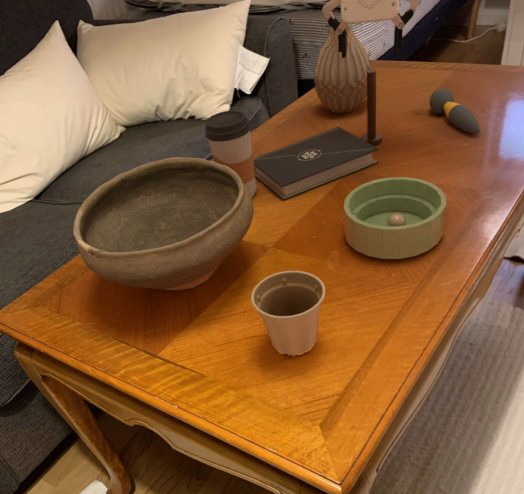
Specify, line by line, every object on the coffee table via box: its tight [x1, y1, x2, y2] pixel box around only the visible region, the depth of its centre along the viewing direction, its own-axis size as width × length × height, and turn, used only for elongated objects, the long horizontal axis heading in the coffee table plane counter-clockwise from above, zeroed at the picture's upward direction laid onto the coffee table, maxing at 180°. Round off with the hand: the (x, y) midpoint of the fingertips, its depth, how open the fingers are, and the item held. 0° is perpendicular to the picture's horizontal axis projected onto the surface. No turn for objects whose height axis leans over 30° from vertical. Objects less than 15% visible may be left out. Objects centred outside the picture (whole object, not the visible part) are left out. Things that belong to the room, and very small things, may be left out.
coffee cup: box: [204, 109, 257, 198], centre depth 98 cm, size 8×8×15 cm
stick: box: [360, 68, 383, 146], centre depth 106 cm, size 4×4×14 cm
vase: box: [313, 24, 372, 114], centre depth 119 cm, size 13×13×18 cm
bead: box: [387, 213, 406, 226], centre depth 84 cm, size 3×3×3 cm
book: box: [253, 126, 379, 201], centre depth 105 cm, size 22×15×3 cm
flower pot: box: [250, 270, 326, 356], centre depth 69 cm, size 9×9×9 cm
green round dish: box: [343, 176, 447, 260], centre depth 84 cm, size 16×16×6 cm
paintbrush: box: [429, 88, 481, 135], centre depth 110 cm, size 20×5×5 cm, turn 20°
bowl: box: [72, 156, 255, 291], centre depth 82 cm, size 28×28×14 cm
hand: (369, 53), depth 99 cm, fingers open, 9 cm apart
